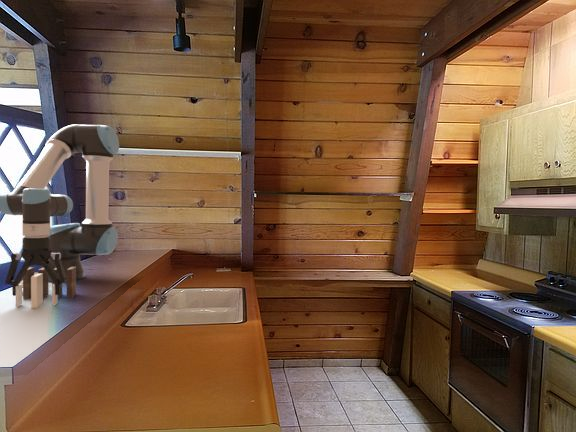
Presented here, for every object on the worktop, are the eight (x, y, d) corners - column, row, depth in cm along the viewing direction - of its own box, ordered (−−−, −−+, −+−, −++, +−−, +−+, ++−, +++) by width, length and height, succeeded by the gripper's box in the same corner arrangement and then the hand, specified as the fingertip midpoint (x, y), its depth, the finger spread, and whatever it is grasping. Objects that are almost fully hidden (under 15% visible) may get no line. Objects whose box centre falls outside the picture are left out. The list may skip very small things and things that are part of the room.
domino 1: (23, 299, 132) (22, 270, 131) (29, 295, 137) (29, 267, 136) (28, 298, 132) (28, 270, 131) (34, 295, 137) (34, 267, 136)
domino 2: (31, 307, 123) (31, 276, 122) (37, 303, 127) (37, 273, 127) (36, 307, 123) (36, 276, 122) (42, 303, 128) (42, 273, 127)
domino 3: (37, 298, 133) (37, 269, 132) (43, 294, 138) (43, 267, 137) (43, 298, 133) (42, 269, 132) (48, 294, 138) (48, 267, 137)
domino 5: (66, 297, 135) (66, 269, 134) (71, 294, 140) (71, 266, 139) (71, 297, 135) (71, 269, 135) (76, 293, 140) (76, 266, 139)
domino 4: (52, 298, 134) (52, 269, 133) (57, 294, 139) (57, 266, 138) (57, 298, 134) (57, 269, 134) (62, 294, 139) (62, 266, 138)
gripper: (-10, 237, 118) (-9, 309, 119) (71, 237, 123) (71, 306, 124) (2, 234, 125) (3, 302, 126) (78, 235, 130) (78, 300, 131)
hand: (37, 304), depth 125 cm, fingers open, 10 cm apart
